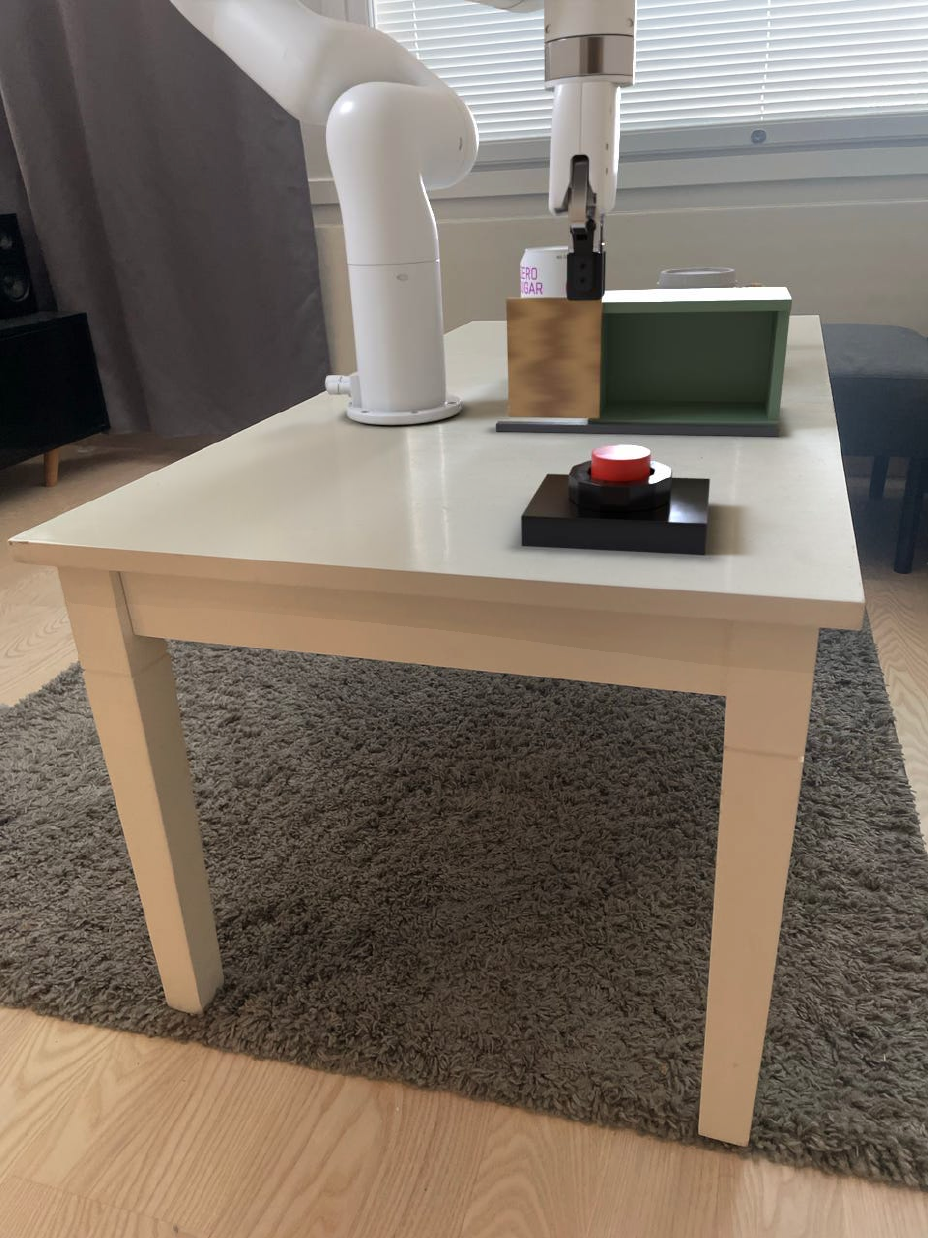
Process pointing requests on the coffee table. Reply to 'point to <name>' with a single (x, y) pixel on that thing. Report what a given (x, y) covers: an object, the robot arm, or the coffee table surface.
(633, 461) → the button
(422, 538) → the coffee table surface
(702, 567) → the coffee table surface
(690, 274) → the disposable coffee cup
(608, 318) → the cabinet
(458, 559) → the coffee table surface
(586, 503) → the button box
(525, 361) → the sliding door
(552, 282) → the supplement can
